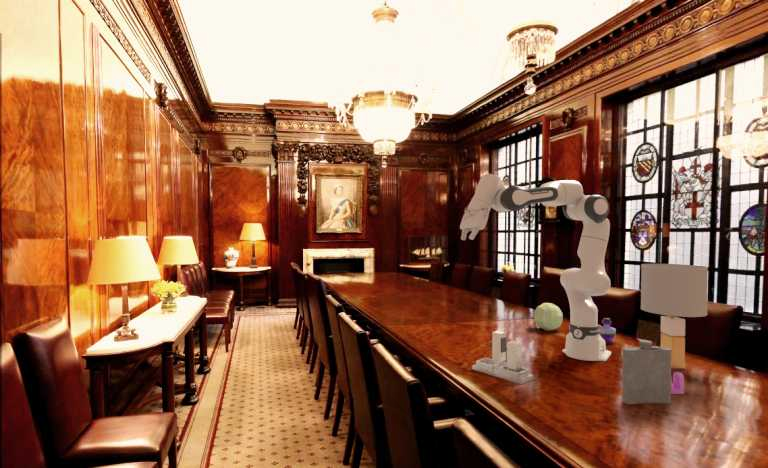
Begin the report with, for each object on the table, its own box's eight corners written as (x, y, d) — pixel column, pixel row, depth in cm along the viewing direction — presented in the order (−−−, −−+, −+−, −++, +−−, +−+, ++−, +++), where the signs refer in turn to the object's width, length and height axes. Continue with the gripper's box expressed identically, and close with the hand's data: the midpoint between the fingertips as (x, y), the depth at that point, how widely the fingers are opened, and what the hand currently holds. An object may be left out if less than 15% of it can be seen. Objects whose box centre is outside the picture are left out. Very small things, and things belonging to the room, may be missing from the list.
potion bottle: (619, 344, 209) (620, 320, 209) (602, 344, 209) (602, 320, 209) (610, 339, 217) (611, 316, 217) (593, 339, 217) (594, 316, 217)
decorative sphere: (529, 327, 245) (529, 301, 245) (553, 326, 247) (554, 301, 246) (541, 333, 230) (542, 306, 230) (567, 332, 232) (568, 305, 232)
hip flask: (626, 404, 136) (626, 342, 136) (618, 399, 140) (619, 339, 140) (673, 403, 137) (673, 342, 137) (664, 398, 141) (664, 338, 141)
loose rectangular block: (497, 357, 186) (497, 330, 186) (506, 360, 182) (506, 332, 182) (492, 359, 183) (492, 332, 183) (501, 362, 180) (501, 334, 179)
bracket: (684, 394, 146) (684, 374, 145) (667, 393, 146) (667, 373, 146) (661, 380, 158) (661, 362, 158) (645, 380, 159) (646, 362, 159)
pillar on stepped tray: (484, 365, 176) (484, 332, 176) (533, 379, 159) (533, 343, 159) (471, 369, 170) (472, 336, 170) (521, 384, 154) (521, 347, 154)
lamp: (721, 375, 164) (722, 268, 164) (662, 374, 165) (663, 268, 164) (680, 357, 187) (681, 263, 187) (629, 357, 187) (629, 263, 187)
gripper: (496, 210, 168) (483, 242, 166) (476, 214, 188) (464, 242, 186) (482, 203, 167) (469, 235, 165) (463, 208, 187) (452, 237, 186)
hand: (466, 239), depth 176 cm, fingers open, 8 cm apart
